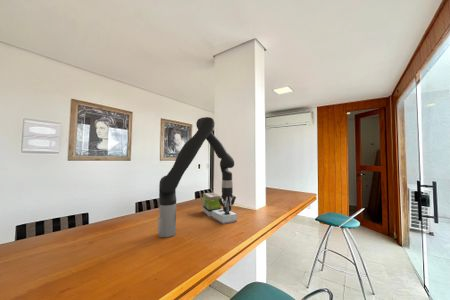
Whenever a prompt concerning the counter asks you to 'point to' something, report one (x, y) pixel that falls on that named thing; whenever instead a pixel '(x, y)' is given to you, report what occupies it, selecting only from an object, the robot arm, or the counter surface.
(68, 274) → the counter surface
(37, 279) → the counter surface
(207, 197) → the tea box
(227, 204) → the pin
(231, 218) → the bore block
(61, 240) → the counter surface
